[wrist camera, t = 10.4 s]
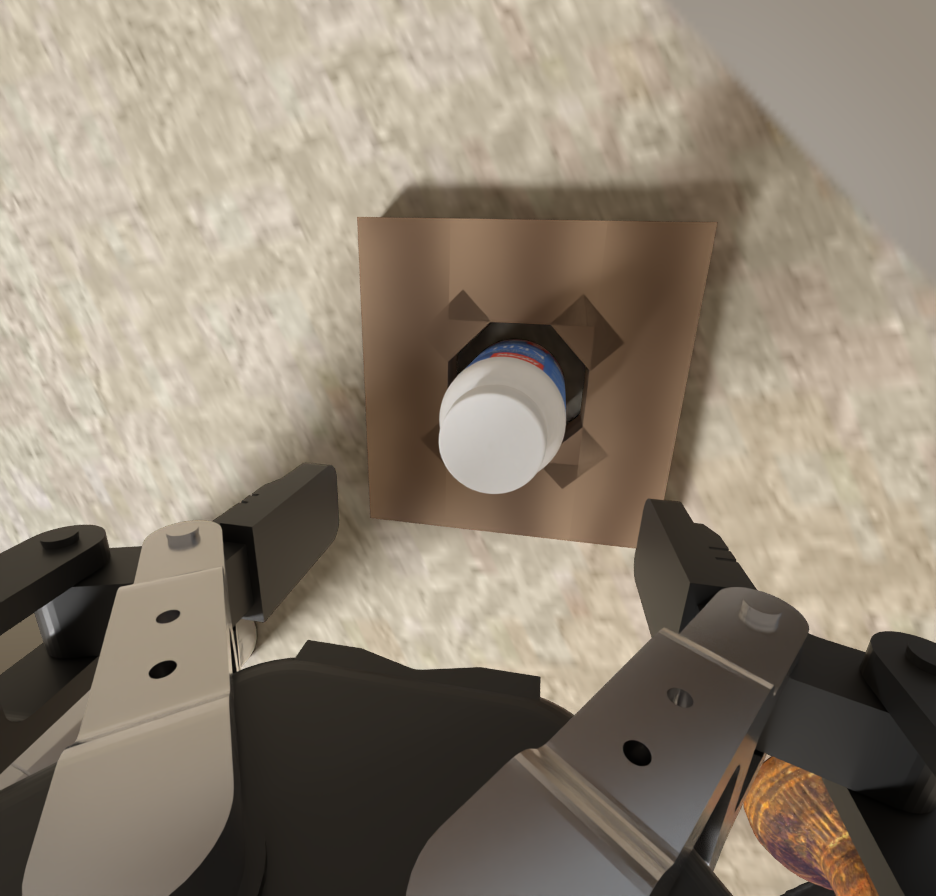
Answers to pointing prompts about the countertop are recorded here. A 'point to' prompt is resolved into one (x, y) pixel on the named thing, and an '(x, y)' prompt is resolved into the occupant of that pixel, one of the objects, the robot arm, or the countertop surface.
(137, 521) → the countertop surface
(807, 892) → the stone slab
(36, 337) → the countertop surface
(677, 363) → the socket board
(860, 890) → the bell
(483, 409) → the pill bottle
